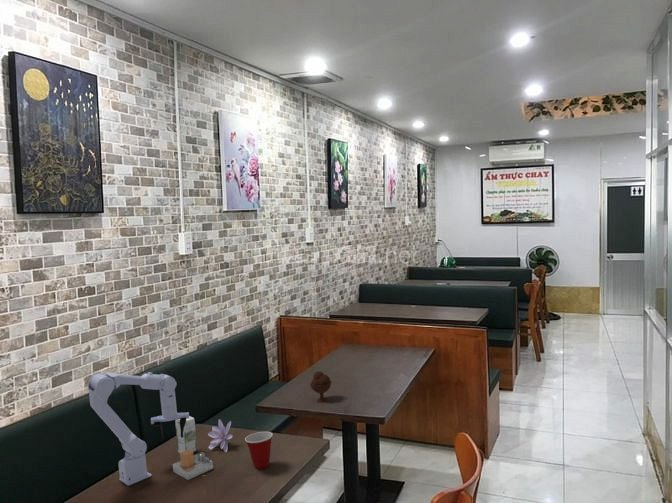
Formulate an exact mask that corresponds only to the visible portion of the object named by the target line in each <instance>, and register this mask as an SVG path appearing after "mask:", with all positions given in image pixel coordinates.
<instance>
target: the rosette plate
mask: <svg viewBox="0 0 672 503" xmlns="http://www.w3.org/2000/svg"><path fill="white" fill-rule="evenodd" d="M193 455H194V466H192V467H189V468H187V469H185V468H183V467H181V461H180V460H179V461H177V462H174V463H172V472H173V473H175V474H176V475H178V476H180V477H182V478H184V479H186V480H187V481H189V480H192V479H193V478H196V477H198V476H200V475H202V474H205V473H207V472H209V471H212V470H213V469H214V465H213V463H214V462H213V461H212V460H211V459H210V458H209V457H206V453H205V452H202V451H201V452H198V453H196V454H193Z"/></svg>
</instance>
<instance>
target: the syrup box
mask: <svg viewBox="0 0 672 503" xmlns="http://www.w3.org/2000/svg"><path fill="white" fill-rule="evenodd" d="M195 420H196V419H195V418H194V417H192V416H190V415H189V419H186V423H185V426H184V430H183V437H182V438H181V429H180V419H178V420H174V422H175V433H176V444H177V452H178V454H180V453H182V452H184V451H185V450H189V451H193V453H195V452H197V451H198V448H197V447H198V445H197V436H196V435H197V434H196V422H195Z"/></svg>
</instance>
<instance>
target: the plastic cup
mask: <svg viewBox="0 0 672 503" xmlns="http://www.w3.org/2000/svg"><path fill="white" fill-rule="evenodd" d="M273 437H274V436H273V432H271V431H259V432H253V433H251V434H249V435H247V436H246V437H245V438H244V441H245V442H246V444H247V447H248V450H249V454H250V456H251V457H250V458H251V460H252V465H253V468H254V469H257V470H264V469H266V468H267V467H269V466H270V458H271V449H272V448H271V446H272V438H273Z"/></svg>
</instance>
